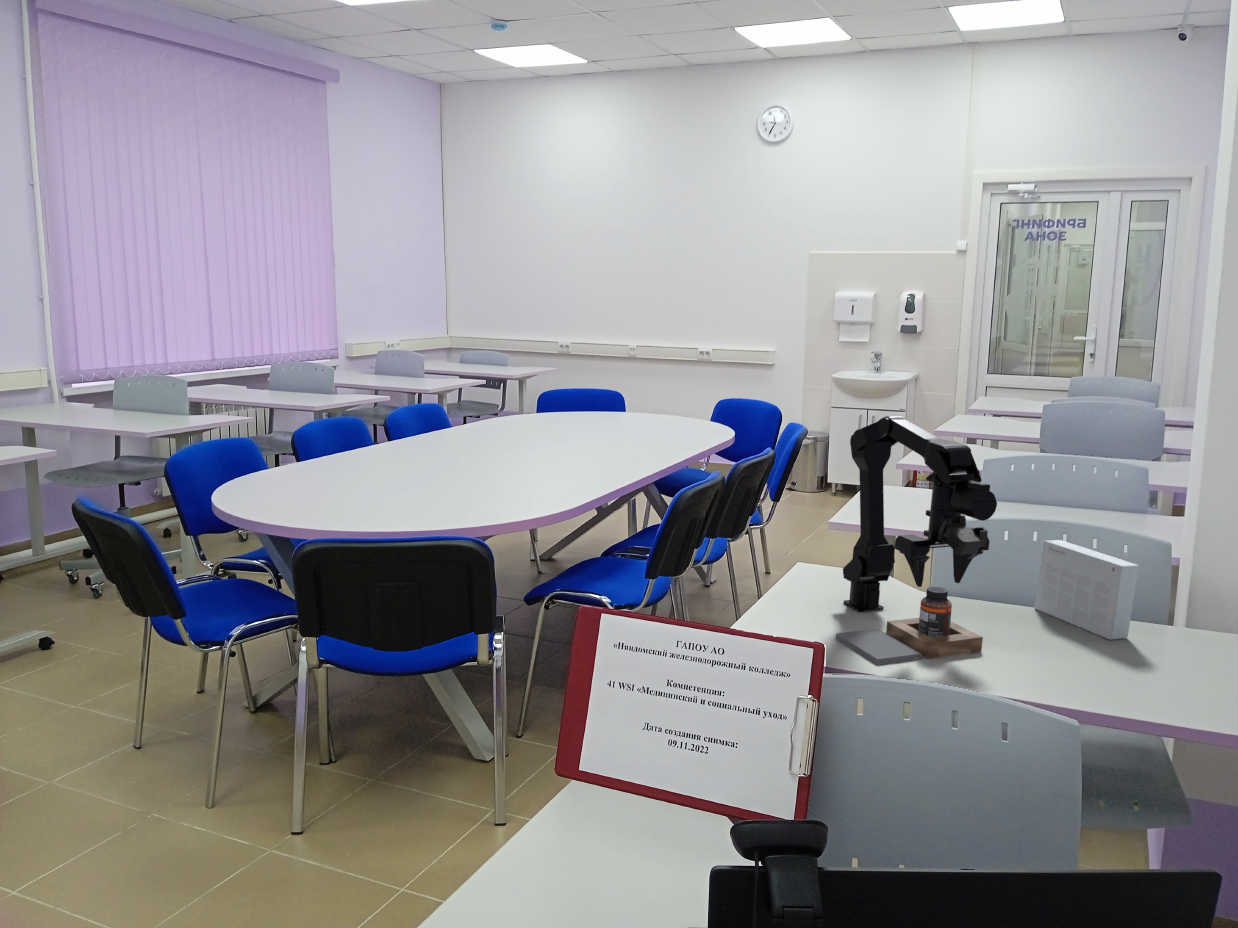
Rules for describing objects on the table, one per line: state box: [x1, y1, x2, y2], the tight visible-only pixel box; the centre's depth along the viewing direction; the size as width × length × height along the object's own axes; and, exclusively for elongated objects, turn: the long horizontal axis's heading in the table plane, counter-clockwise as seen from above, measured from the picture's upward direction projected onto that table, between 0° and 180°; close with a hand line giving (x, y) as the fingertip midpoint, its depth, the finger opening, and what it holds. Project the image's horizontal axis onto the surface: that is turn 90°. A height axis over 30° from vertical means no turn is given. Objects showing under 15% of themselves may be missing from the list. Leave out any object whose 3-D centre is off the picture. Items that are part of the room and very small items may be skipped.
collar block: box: [885, 617, 984, 660], centre depth 196 cm, size 13×13×3 cm
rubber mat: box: [835, 628, 922, 665], centre depth 192 cm, size 14×10×1 cm
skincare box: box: [1034, 539, 1140, 641], centre depth 209 cm, size 21×5×16 cm, turn 22°
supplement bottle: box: [918, 585, 953, 638], centre depth 195 cm, size 6×6×11 cm
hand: (938, 584), depth 194 cm, fingers open, 9 cm apart
